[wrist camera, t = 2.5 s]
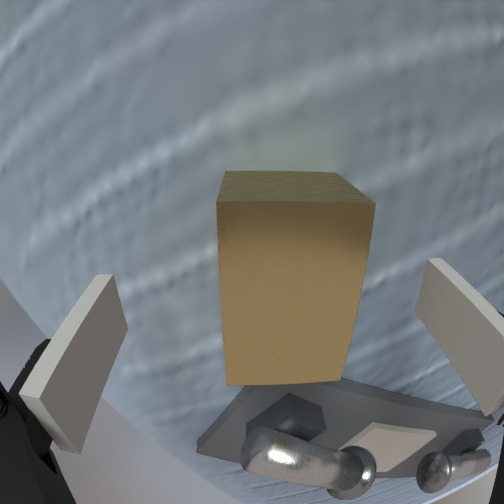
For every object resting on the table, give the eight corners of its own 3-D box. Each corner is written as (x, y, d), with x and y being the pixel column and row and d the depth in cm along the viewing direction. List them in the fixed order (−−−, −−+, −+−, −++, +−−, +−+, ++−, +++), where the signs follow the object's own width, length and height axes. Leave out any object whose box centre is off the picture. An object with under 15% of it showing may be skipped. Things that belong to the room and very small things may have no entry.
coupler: (225, 170, 14) (216, 201, 9) (335, 172, 14) (375, 203, 10) (230, 317, 17) (226, 385, 13) (319, 315, 18) (340, 380, 13)
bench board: (270, 354, 18) (272, 368, 17) (490, 413, 25) (494, 420, 24) (197, 441, 23) (196, 452, 22) (420, 469, 29) (422, 476, 28)
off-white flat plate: (372, 422, 21) (374, 427, 20) (434, 430, 23) (436, 435, 22) (318, 462, 23) (319, 468, 23) (385, 467, 25) (386, 471, 25)
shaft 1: (234, 418, 20) (232, 491, 14) (276, 386, 18) (285, 467, 13) (323, 449, 22) (334, 507, 17) (364, 423, 21) (382, 485, 15)
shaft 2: (482, 427, 24) (500, 463, 19) (458, 449, 26) (473, 484, 21) (434, 433, 23) (453, 478, 18) (408, 457, 25) (422, 500, 19)
